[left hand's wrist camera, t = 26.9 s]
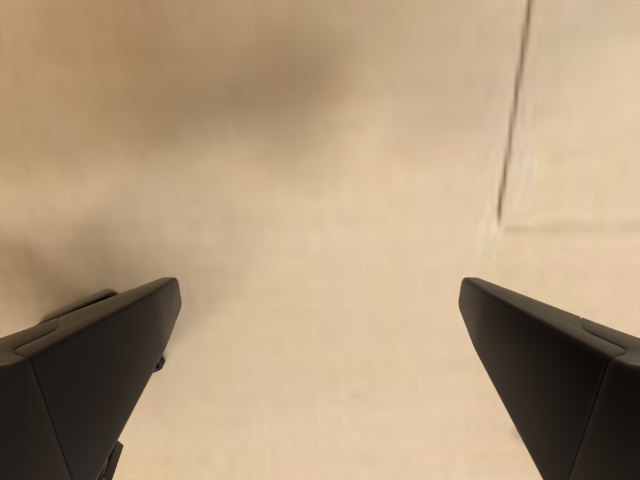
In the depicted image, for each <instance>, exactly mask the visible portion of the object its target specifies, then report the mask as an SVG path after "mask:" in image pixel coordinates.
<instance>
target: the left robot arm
mask: <svg viewBox="0 0 640 480" xmlns="http://www.w3.org/2000/svg"><path fill="white" fill-rule="evenodd" d="M180 309H181V296H180V289H179V283H178V280H177V279H176V278H174V277H164V278H161V279H158V280H155V281H153V282H150V283H147V284H145V285H142V286H139V287H137V288H134V289H132V290H129V291H126V292H124V293H121V294H118V295H117V294H115V293H112V292H110V293H107V294H105V295H102V296H100V297H98V298H95V299H93V300H90V301H88V302H86V303H83V304H81V305H79V306H76V307H74V308H72V309H69V310H67V311H64V312H62V313H60V314H57V315H55V316H53V317H50V318H48V319H46V320H43V321H41V322H40V323H38V324H37V325H36V326H34V327H31V328H28V329H26V330H23V331H20V332H17V333H14V334H11V335H8V336H6V337H3V338H0V480H112V478H113V475H114V472H115V469H116V466H117V463H118V460H119V457H120V454H121V452H122V449H123V445H122V444H121V443H120V442H119V441H118V438H119V436H120V434H121V432H122V431H123V429H124V427H125V425H126V423H127V421H128V419H129V417H130V415H131V413H132V411H133V409H134V408H135V406H136V404H137V402H138V400H139V398H140V396H141V394H142V392H143V390H144V388H145V387H146V385H147V383H148V381H149V379H150V377H151V375H152V373H154V372H156V371H159V370H161V369H162V367H163V365H164V364H165V360H164V358H163V357H162V354H163V352H164V350H165V348H166V346H167V343H168V341H169V338H170V335H171V333H172V330H173V327H174V325H175V322H176V319H177V317H178V314H179V311H180ZM459 309H460V311H461V314H462V317H463V319H464V322H465V325H466V327H467V330H468V333H469V335H470V338H471V341H472V343H473V346H474V348H475V350H476V352H477V354H478V356H479V358H480V360H481V362H482V364H483V365H484V367H485V369H486V371H487V373H488V375H489V377H490V379H491V381H492V383H493V385H494V387H495V388H496V390H497V392H498V394H499V396H500V398H501V400H502V402H503V404H504V406H505V408H506V409H507V411H508V413H509V415H510V417H511V419H512V421H513V423H514V425H515V427H516V429H517V431H518V432H519V434H520V436H521V438H522V440H523V442H524V444H525V446H526V448H527V450H528V452H529V454H530V455H531V457H532V459H533V461H534V463H535V465H536V467H537V469H538V471H539V473H540V475H541V476H542V478H543V480H640V338H637V337H634V336H632V335H629V334H626V333H623V332H620V331H617V330H614V329H612V328H609V327H606V326H604V325H601V324H598V323H595V322H593V321H590V320H587V319H585V318H580V317H579V316H577V315H574V314H572V313H569V312H566V311H564V310H561V309H558V308H556V307H553V306H551V305H548V304H545V303H543V302H540V301H537V300H535V299H532V298H529V297H527V296H524V295H522V294H519V293H516V292H514V291H511V290H508V289H506V288H503V287H501V286H498V285H495V284H493V283H490V282H487V281H485V280H482V279H479V278H472V277H466V278H464V279H463V280H462V283H461V289H460V296H459Z"/></svg>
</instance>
